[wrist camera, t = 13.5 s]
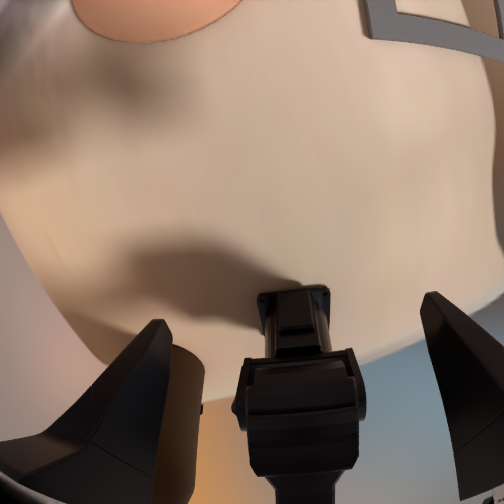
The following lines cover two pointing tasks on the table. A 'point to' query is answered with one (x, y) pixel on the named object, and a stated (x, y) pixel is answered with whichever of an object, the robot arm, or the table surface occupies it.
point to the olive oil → (179, 430)
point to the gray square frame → (433, 30)
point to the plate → (150, 17)
